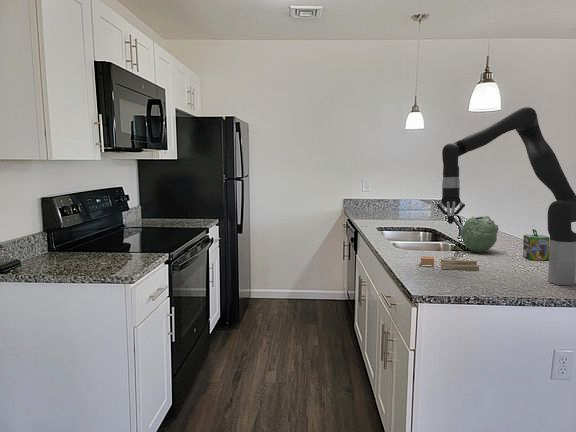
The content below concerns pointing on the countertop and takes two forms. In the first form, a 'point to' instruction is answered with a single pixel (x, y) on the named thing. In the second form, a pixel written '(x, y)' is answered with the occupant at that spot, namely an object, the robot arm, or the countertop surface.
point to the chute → (460, 264)
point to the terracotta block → (427, 260)
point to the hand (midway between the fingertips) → (450, 223)
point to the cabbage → (479, 234)
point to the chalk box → (536, 247)
